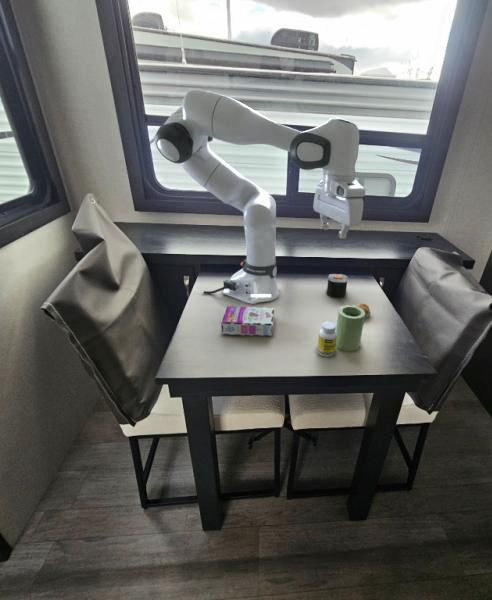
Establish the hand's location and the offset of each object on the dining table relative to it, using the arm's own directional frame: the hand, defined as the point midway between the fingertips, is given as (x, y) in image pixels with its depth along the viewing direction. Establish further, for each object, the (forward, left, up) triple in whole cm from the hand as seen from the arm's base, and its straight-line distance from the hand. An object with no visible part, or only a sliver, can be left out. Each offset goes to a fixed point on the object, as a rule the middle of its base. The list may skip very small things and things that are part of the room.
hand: (333, 233), depth 95 cm
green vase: (+10, -7, -33) cm, 35 cm away
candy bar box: (-31, -14, -31) cm, 46 cm away
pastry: (+10, +12, -33) cm, 37 cm away
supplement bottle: (+5, -14, -33) cm, 36 cm away
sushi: (-2, +26, -33) cm, 42 cm away
